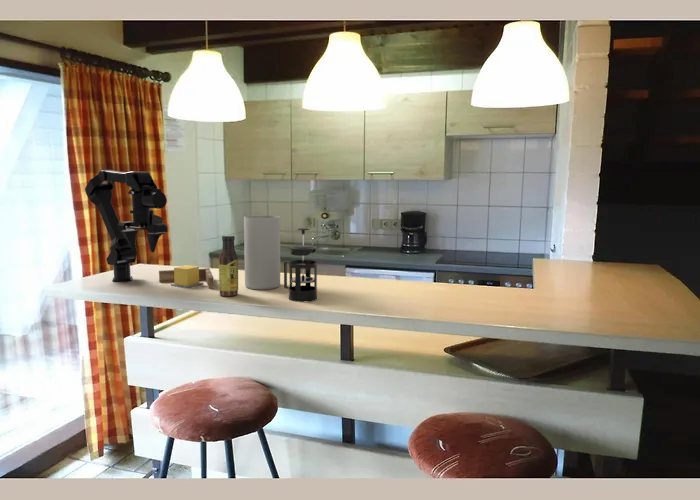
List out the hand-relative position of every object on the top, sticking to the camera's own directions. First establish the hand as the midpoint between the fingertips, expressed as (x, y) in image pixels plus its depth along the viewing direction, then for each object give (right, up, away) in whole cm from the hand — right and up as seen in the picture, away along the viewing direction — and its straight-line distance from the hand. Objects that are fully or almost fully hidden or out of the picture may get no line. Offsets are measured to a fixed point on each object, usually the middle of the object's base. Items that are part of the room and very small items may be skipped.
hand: (143, 251), depth 183 cm
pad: (+15, -12, +2) cm, 19 cm away
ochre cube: (+15, -12, +2) cm, 19 cm away
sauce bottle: (+34, -15, -12) cm, 39 cm away
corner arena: (+14, -12, +3) cm, 19 cm away
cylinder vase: (+43, -13, +1) cm, 44 cm away
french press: (+58, -16, -15) cm, 62 cm away
